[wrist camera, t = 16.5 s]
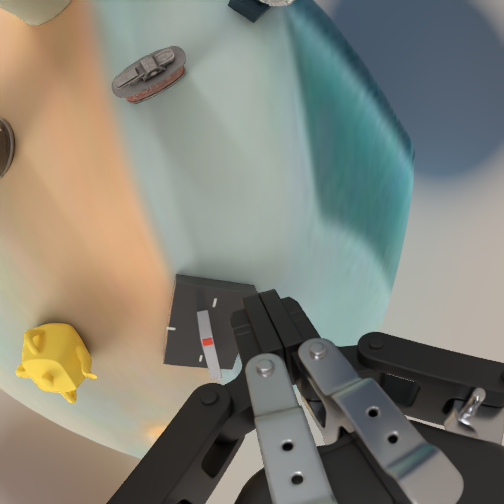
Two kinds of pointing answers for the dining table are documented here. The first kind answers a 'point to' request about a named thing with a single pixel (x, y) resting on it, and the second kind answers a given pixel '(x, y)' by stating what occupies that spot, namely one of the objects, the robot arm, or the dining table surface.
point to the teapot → (55, 359)
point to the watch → (255, 7)
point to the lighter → (150, 75)
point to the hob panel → (186, 321)
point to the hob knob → (208, 344)
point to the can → (34, 9)
